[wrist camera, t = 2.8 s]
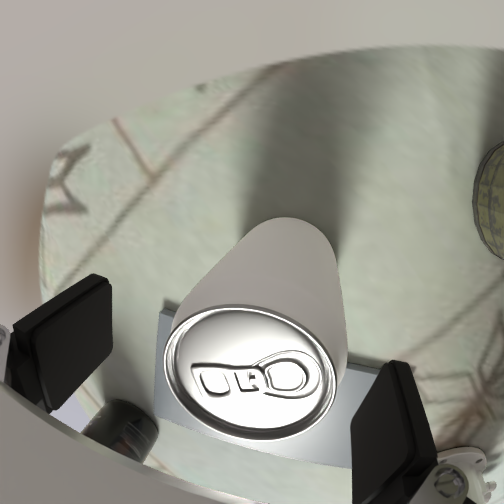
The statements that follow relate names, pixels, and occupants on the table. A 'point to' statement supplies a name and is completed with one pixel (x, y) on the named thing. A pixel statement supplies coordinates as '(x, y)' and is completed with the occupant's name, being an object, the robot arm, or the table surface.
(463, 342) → the table surface
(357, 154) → the table surface
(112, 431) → the supplement bottle
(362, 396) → the card
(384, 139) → the table surface
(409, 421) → the robot arm
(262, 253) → the can
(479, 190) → the thermos
